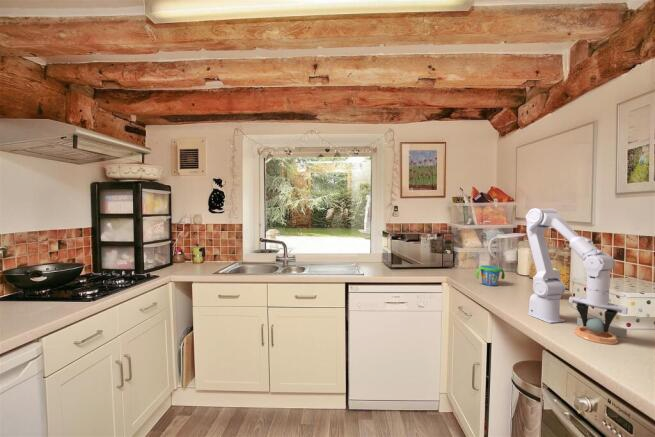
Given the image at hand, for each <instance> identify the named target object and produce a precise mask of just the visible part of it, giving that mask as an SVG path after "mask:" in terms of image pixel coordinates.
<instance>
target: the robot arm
mask: <svg viewBox="0 0 655 437" xmlns="http://www.w3.org/2000/svg"><path fill="white" fill-rule="evenodd" d="M525 220H526V230H525V231H526V235H527V238H528V242H529V247H530V250H531V254H532V259H533V261H534V262H533V263H534V266H535V271H536V274H535V275H533V276H532V281H533V284H532V290H533V291H534V293H532V294H531V295H530V297H529V302H528V304H529V305H528V307H529V308H528V313H527V315H528V316H530V317H533V318H535V319H537V320H541V321H543V322H545V323H548V324H555V323H561V322H565V321H566V320H565V319H563V318H561V317H560V306H561V304H560V303H561V298H562V295H563V294H565V292H566V286H565V284H564V282H563V281H562V279H561V275H560V276H559V275H558V274H556V273H555V272H554V271H553V268H554V267H553V264H552V259H551V257H550V254H549V250H548V245H547V242H546V237H545V234H544V233H545V232H546V230H547V229H549V228H550V227H552V228H553V229H555V230H556V231H557V232H558V233H559V234H560V235H561V236H562V237H563V238H565V239H566V240H567V241H568V242H569V244H568V245H569V247H570V249H571V250H572V251H573V252H574V253H575V254H576V255H577V256H578V257H579V258H580V259H581V260H582V265H583V267H584V268H585V270H586V271H585V273H586V287H585V288H586V289H585V291H586V292H585V297H578V296H571V295H570V296H569V299H568V303H570V304H576V306H575V307H576V310H577V312H578V314H579V315H580V316H579V317H580V318H582V322H583V326H584V327H586V321H587V320H588V314H589V313H588V312H589V307H591V308H596V309H601V310H605V311H604V324H605V326H604V332H608V329H609V326H610V325H611V323H612V322H613V320H614V318H615V317H616V315H618V313H621V314H622V315H628V306H627V307H626V306H622V305H618V304H614V303H612V302H610V300H609V299H610V286H611V285H610V282H611V270H613V269H614V268H615V266H616V261H615V259H614V258H613V256H612V255H611V254H608V253H605V252H603V250H601V249H599V248H598V247H597V246H596V245H594V244H593V243H592V239H590V238H589V237H588V238H587V237H585V236H580V235H579V234H578V232H576V231H575V230H574V229H573V228H572V227H571V225H569V224H568V223H567V221H565V219H564V218H563V215H562V214H561V213H560V212H559V211H558V210H557V209H555V208H553V207H552V208H536V207H535V208H531V209H530V210H529V211H528V212H527V213H526V214H525ZM546 279H547V280H546Z"/></svg>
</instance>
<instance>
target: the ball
mask: <svg viewBox="0 0 655 437" xmlns="http://www.w3.org/2000/svg"><path fill="white" fill-rule="evenodd" d="M586 326H587V328H588V329H589V330H590V331H591V332H594V333H602V332H604V326H605V321H603V320H602V319H600V318H597V317H589V318H587V321H586Z"/></svg>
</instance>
